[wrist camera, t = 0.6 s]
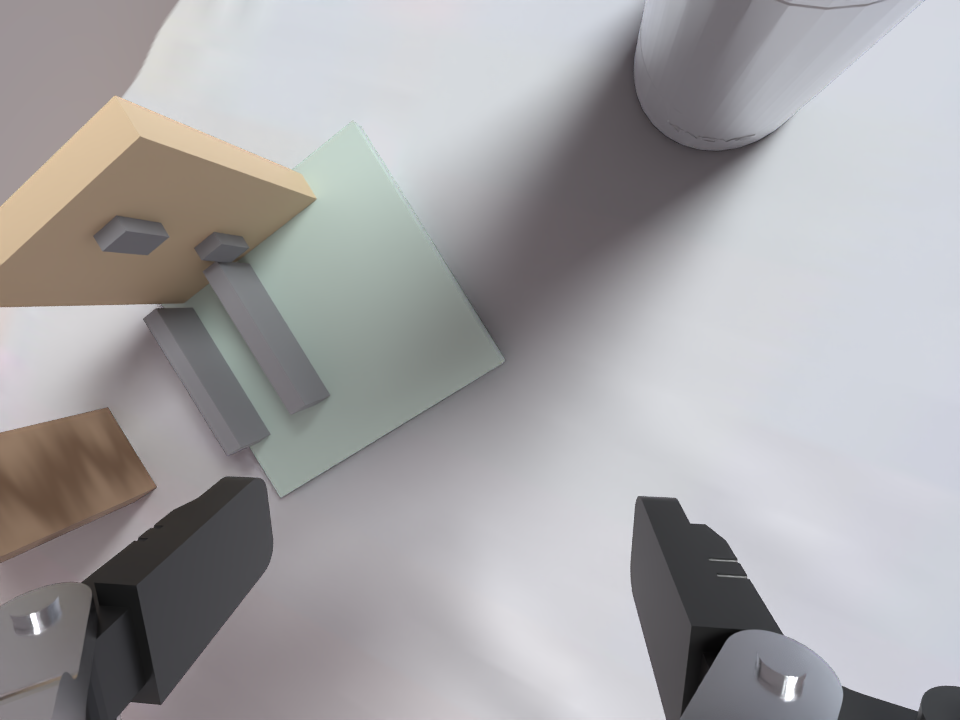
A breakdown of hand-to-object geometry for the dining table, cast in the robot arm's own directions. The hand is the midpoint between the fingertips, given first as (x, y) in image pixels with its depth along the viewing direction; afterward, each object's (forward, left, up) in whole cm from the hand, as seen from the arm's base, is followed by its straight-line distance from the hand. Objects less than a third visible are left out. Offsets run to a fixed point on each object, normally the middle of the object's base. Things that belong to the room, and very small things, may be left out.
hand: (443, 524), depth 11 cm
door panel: (+14, -29, -21) cm, 38 cm away
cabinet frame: (0, -14, -21) cm, 25 cm away
